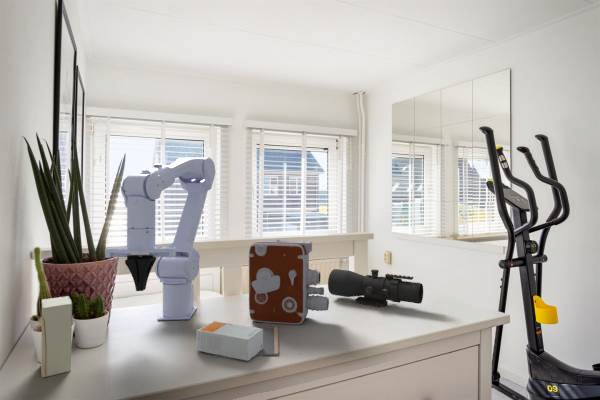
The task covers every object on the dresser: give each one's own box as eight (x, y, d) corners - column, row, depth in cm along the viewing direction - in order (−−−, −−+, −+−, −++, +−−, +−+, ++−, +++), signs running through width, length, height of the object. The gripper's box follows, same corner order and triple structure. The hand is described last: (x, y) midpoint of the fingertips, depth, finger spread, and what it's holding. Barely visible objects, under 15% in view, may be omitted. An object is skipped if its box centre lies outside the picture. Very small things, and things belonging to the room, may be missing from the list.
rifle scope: (416, 318, 91) (416, 278, 91) (325, 302, 105) (325, 268, 104) (425, 307, 100) (425, 271, 100) (340, 294, 113) (340, 263, 113)
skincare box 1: (40, 365, 65) (40, 299, 65) (69, 358, 68) (69, 295, 68) (41, 379, 60) (41, 307, 60) (72, 371, 63) (72, 302, 63)
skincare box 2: (213, 320, 76) (263, 328, 72) (213, 339, 76) (263, 349, 72) (195, 329, 70) (248, 339, 66) (195, 351, 70) (248, 362, 66)
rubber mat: (225, 330, 82) (225, 328, 82) (277, 329, 83) (277, 327, 83) (215, 357, 68) (215, 355, 68) (278, 355, 69) (278, 352, 69)
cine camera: (325, 329, 83) (325, 243, 83) (246, 323, 87) (245, 241, 87) (329, 316, 92) (329, 239, 92) (258, 312, 96) (257, 237, 96)
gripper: (98, 229, 74) (97, 295, 74) (169, 229, 75) (169, 293, 75) (113, 227, 81) (113, 287, 81) (178, 227, 82) (178, 286, 82)
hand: (140, 290), depth 78 cm, fingers closed
